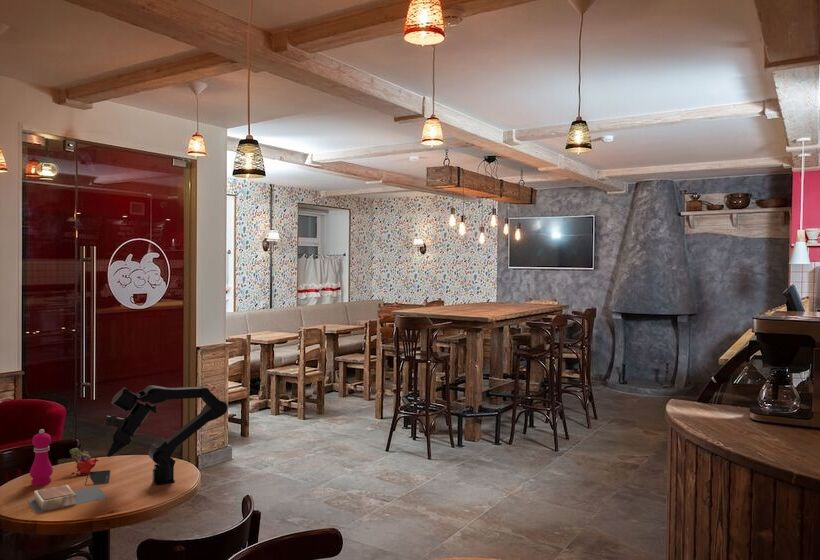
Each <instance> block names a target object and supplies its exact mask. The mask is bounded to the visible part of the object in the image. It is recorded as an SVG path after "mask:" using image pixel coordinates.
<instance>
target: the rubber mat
mask: <svg viewBox="0 0 820 560" xmlns="http://www.w3.org/2000/svg"><path fill="white" fill-rule="evenodd" d="M72 491H73V492H74V493H75V494H76V504H73V505H68V506H63V507H58V508H53V509H49V510H44V511H42V510H41V509H40V507H39V506H38V504H37V503H36V501H35V500H34V497H33V498H30V499H29V498H28V499H26V502H27V503H28V504H29V507H31V509H32V511H33V512H34V513H35V514H37V513H43V512H48V511H52V510H56V509H61V508H66V507H71V506H75V505H80V504H86V503H91V502H95V501H100V500H104V499H105V500H106V499H108V498H109V497H108V496H107V495H106V494H105V492H104V491H102V490H101V488H100V487H99V486H97V485H93V486H88V487H86V488H80V489H75V490H72Z"/></svg>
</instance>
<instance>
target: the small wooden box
mask: <svg viewBox="0 0 820 560" xmlns="http://www.w3.org/2000/svg"><path fill="white" fill-rule="evenodd" d="M73 491H74V490H73V489H72V488H71V487H70V486H69V485H68V484H62V485H59V486H57V485H56V486H52V487H51V486H50V487H46V488H42V489H37V490H34V497H33V498H34V500H35V501H36V503H37V504H38V506H39V507H40V509H41V510H42V511H43V512H45V511H44V510H48V511H50V510H49V509H53V508H57V509H59V508H58V507H62V508H64V507H63V506H67V507H69V506H68V505H72V506H74V505H73V504H76V494H75V493H74V492H73ZM53 510H54V509H53Z"/></svg>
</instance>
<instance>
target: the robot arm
mask: <svg viewBox="0 0 820 560" xmlns="http://www.w3.org/2000/svg"><path fill="white" fill-rule="evenodd" d="M183 399H184V400H186V399H201V400H202V401H203V403H205V405H204V406H203V408H202V410H201V411H200V413H199V414H197V415H196V416H194V417H193V418H192V419H191V420H190V421H188V422H187V423H186V424H185V425H183V426H182V427H181V428H180V429H178V430H177V431H176V432H175V433H173V434H172V435H170V437H168V438H165V439H164V438H163V437H160V438H158V439H157V441H155V442H154V443H151V446H150V447H149V449H148V457H149V458H150V459H151V460H152V461H153V462H154V465H153V466H154V468H153V469H152V481H153V483H155V485H157V486H159V485H160V486H161V485H164V484H165V485H166V484H170V483H174V481H175V482H176V479H174V477H175V476H174V474H175V471H174V468H175V464H176V460H175V459H174V458H173V457H172V455H174V452H176V449H177V448H178V447H179V446H180V445H182V443H184V442H185V441H186V440H188V439H190V437H191V436H192V435H194V434H195V433H196V432H198V431H199V430H200V429H202V427H204V426H205V425H207V424H208V423H210V422H211V421H215V420H217V419H219V418H220V417H222V416H224V415H225V414H227V412H228V405H227V403H226V402H225V401H223V400H221V399H220V398H218V397H217V396H215V395H214V393H212V391H211V390H210V389H209V388H208V387H205V386H204V385H202V386H191V387H189V386H188V387H166V386H159V385H150V384H149V385H147V386H146V387H145V388H144V389H143V390H140V391H138V392H136V393H134V392H132V391H131V390H129V389H128V388H127V387H122V389H121V390H119V391H118V392H117V393H116V394H115V395H114V396H113V398H112V400H111V405H113V406H115V407H117V408H119V409H120V410H123V411H124V412H129V413H128V414H127V416H126V415H125V417H124V418H123V417H117V416H118V415H116V414H115V415H114V414H111V415H106V417H105V420H104V424H103V426H105V427H108V426H109V427H114V428H115V427H116V429H115V430H114V432H113V434H112V440H113V442H112V444H111V446H110V449H109V450H108V452H107V454H106V457H108V458H111V457H113V455H114V454H116V453H117V452H119V451H120V450H122V449H123V448H125V447H126V446H128V445H130V444H131V442H132V440H133V437H134V435H135V434H136V432H137V431H138V429H139V428H140V427H141V426H142V424H143V423H144V421H145V420H146V419H147V417H148V415H149V414H150V412H153V413H154V414H157V412H158V411H157V405H155V404H160V403H165V402H167V401H170V400H183ZM149 403H150V404H149Z"/></svg>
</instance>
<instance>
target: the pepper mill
mask: <svg viewBox="0 0 820 560" xmlns="http://www.w3.org/2000/svg"><path fill="white" fill-rule="evenodd" d="M31 441H32V442H31V443H32V444H31V445H33V452H34V460H33V463H32V465H31V467H30V470H29V476H30V477H31V478H32V479H31V483H30V484H31V486H33V487H34V486H44V485H45V486H46V485H48V484H50V483H52V477H51V476H52V475H53V472H54V469H53V468H54V467H53V465H52V464H51V461H50V459H49V451H50V444H51V443H52V437H51V435H50V434H49V433H46V432H45V429H44V428H41V429H39V431H38V433H36V434H35V435H34V436H33V437H32V440H31Z"/></svg>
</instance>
